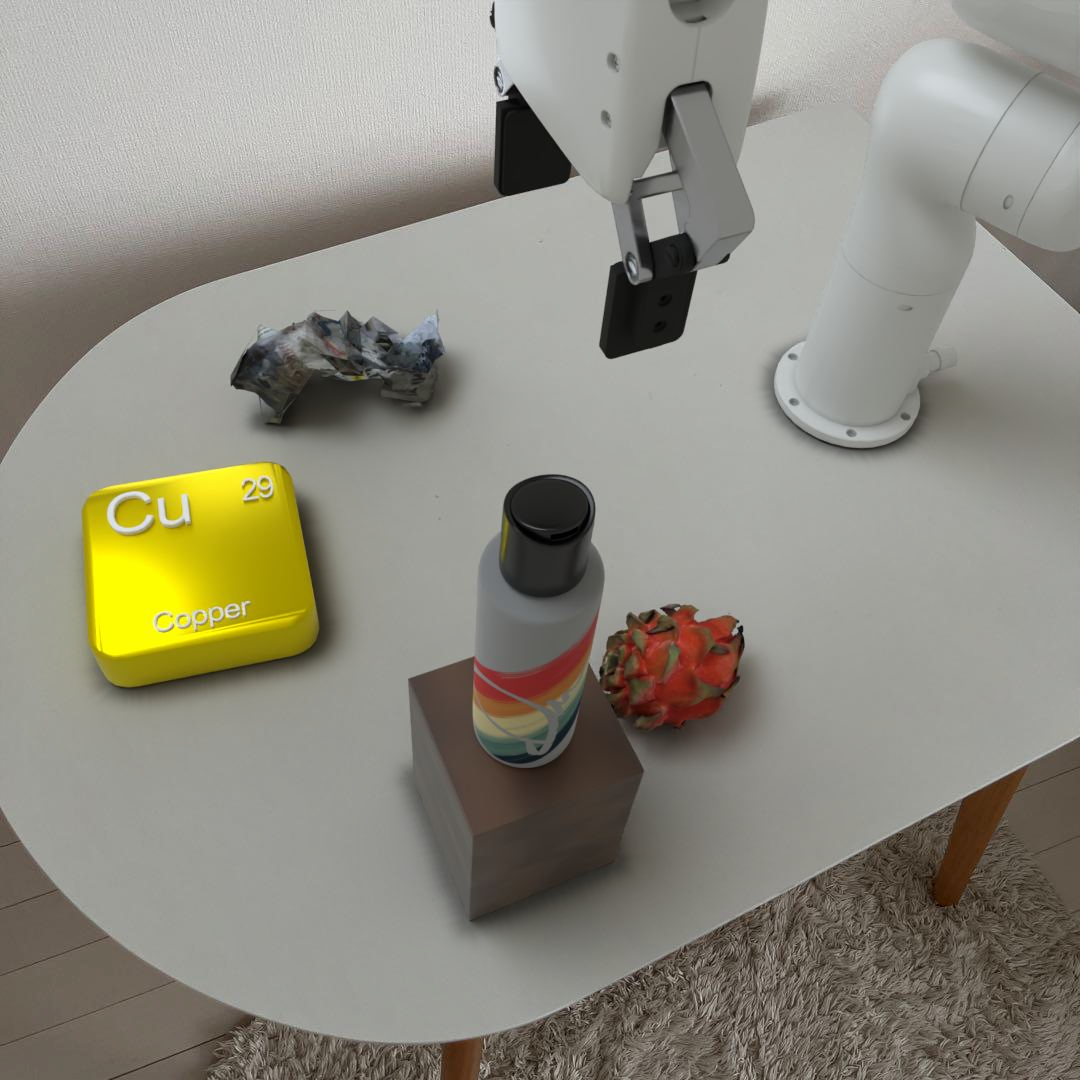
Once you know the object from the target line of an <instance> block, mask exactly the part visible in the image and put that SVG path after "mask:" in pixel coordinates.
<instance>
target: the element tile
mask: <svg viewBox="0 0 1080 1080" xmlns="http://www.w3.org/2000/svg"><path fill="white" fill-rule="evenodd" d="M81 530H82V532H81V533H82V551H83V570H84V571H83V574H84V591H85V593H84V594H85V612H86V632H87V633H86V635H87V642H88V645H89V648H90V650H91V652H92V654H93V656H94V658H95V660H96V662H97V664H98V666H99V668H100V670H101V671H102V673H103V675H104V677H105V678H106V680H107V681H108V682H110V683H111V684H113V685H114V686H117V687H122V688H139V687H143V686H148V685H153V684H158V683H159V684H160V683H165V682H168V681H173V680H179V679H183V678H189V677H193V676H198V675H204V674H209V673H215V672H219V671H224V670H229V669H235V668H239V667H244V666H250V665H255V664H259V663H265V662H270V661H274V660H279V659H284V658H285V659H286V658H290V657H294V656H297V655H300V654H302V653H304V652H305V651H307V650H310V648H311V647H312V646H313V645H314V643H315V642H316V641H317V639H318V635H319V632H320V622H319V617H318V615H319V614H318V609H317V605H316V599H315V593H314V588H313V582H312V577H311V572H310V567H309V561H308V556H307V551H306V546H305V545H306V544H305V540H304V536H303V529H302V524H301V519H300V514H299V509H298V503H297V498H296V492H295V488H294V483H293V477H292V476H291V474H290V472H289V471H288V470H287V469H286V467H285V466H284V465H281V464H279V463H277V462H273V461H256V462H251V463H244V464H238V465H237V464H236V465H231V466H225V467H218V468H212V469H206V470H200V471H193V472H187V473H181V474H176V475H170V476H169V475H168V476H163V477H157V478H149V479H144V480H138V481H131V482H124V483H119V484H113V485H109V486H106V487H102V488H100V489H97V490H95V491H94V492H93V493H91V494H90V495H89V496H88V497H87V498H86V499H85V501H84V502H83V505H82V508H81Z"/></svg>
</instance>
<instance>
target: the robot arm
mask: <svg viewBox="0 0 1080 1080" xmlns="http://www.w3.org/2000/svg"><path fill="white" fill-rule="evenodd" d="M949 1H950V5H951V8H952V10H953V11H954V13H955V14H956V15H957V17H958V18H959V19H960V20H962V21H963V22H964V23H965V24H966V25H968V26H969V27H970V28H972V29H974V30H976V31H977V32H979V33H981V34H982V35H985V36H986V37H987V38H990V39H992V40H994V41H996V42H998V43H1000V44H1003V45H1004V46H1008V47H1010V48H1011V49H1014V50H1015V51H1018V52H1020V53H1023V54H1025V55H1028V56H1029V57H1032V58H1034V59H1036V60H1039V61H1041V62H1043V63H1045V64H1048V65H1050V66H1053V67H1055V68H1057V69H1059V70H1061V71H1064V72H1066V73H1068V74H1070V75H1073V76H1075V77H1077V78H1080V0H949ZM768 6H769V0H493V2H492V4H491V10H490V15H489V21H490V22H489V23H490V25H491V27H492V28H493V29H494V33H495V41H496V42H495V43H496V48H497V52H498V54H499V57H498V58H497V59H496V60H495V62H494V63H493V66H492V81H493V86H494V89H495V91H496V93H497V95H498V96H499V97H501V98H504V97H507V98H506V99H502V100H498V101H496V102H495V124H494V125H495V126H494V127H495V128H494V134H495V135H494V157H493V158H494V159H493V160H494V161H493V185H494V187H495V189H496V190H497V191H498V193H499V195H501V196H503V197H512V196H516V195H520V194H523V193H524V194H525V193H528V192H533V191H538V190H543V189H546V188H550V187H551V188H552V187H555V186H559V185H563V184H566V183H567V182H568V181H569V180H570V178H571V173H572V166H573V167H574V169H575V170H576V171H577V173H578V174H579V176H580V177H581V178H582V179H583V180H584V182H585V183H586V184H587V185H588V186H589V187H590V188H591V190H593V192H595V193H596V194H598V195H599V196H600V197H602V198H603V199H605V200H607V201H609V202H610V203H611V207H612V208H611V209H612V213H613V218H614V223H615V228H616V234H617V235H616V236H617V240H618V244H619V249H620V256H621V260H620V261H617V262H615V263H613V264H610V265H609V272H608V279H607V285H606V294H605V301H604V308H603V314H602V322H601V327H600V336H599V342H598V347H599V348H600V350H601V351H602V353H603V355H604V356H605V358H606V359H607V360H614V359H618V358H621V357H626V356H628V355H631V354H635V353H639V352H643V351H646V350H650V349H654V348H658V347H662V346H664V345H668V344H671V343H674V342H676V341H678V340H679V339H680V338H682V336H683V335H684V332H685V328H686V324H687V319H688V315H689V311H690V306H691V301H692V298H693V293H694V288H695V284H696V280H697V276H698V271H700V270H703V269H707V268H711V267H715V266H718V265H722V264H726V263H727V262H728V261H729V259H730V257H731V254H732V253H733V252H734V251H735V250H736V249H737V248H738V247H739V246H740V245H741V244H742V243H743V242H744V241H745V240H746V239H747V238H748V237H749V236H750V235H751V233H753V231H754V229H755V224H756V217H755V212H754V208H753V205H752V203H751V200H750V198H749V195H748V192H747V189H746V187H745V185H744V182H743V179H742V176H741V174H740V171H739V169H738V167H737V166H738V163H739V160H740V157H741V153H742V151H743V145H744V140H745V136H746V132H747V127H748V123H749V118H750V112H751V107H752V103H753V98H754V97H753V96H754V92H755V86H756V80H757V75H758V69H759V63H760V59H761V52H762V45H763V40H764V33H765V26H766V21H767V20H766V19H767V14H768V13H767V12H768ZM886 73H887V74H886V75H885V77H884V79H883V81H882V83H881V85H880V87H879V90H878V91H877V95H876V98H875V101H874V105H873V108H872V112H871V118H870V122H869V129H868V135H867V145H866V150H865V158H864V163H863V167H862V168H863V169H862V173H861V179H860V182H859V185H858V188H857V192H856V196H855V199H854V202H853V205H852V208H851V211H850V214H849V217H848V219H847V223H846V225H845V229H844V231H843V234H842V238H841V240H840V243H839V246H838V249H837V252H836V254H835V257H834V260H833V262H832V266H831V269H830V272H829V274H828V277H827V280H826V283H825V286H824V289H823V291H822V294H821V297H820V300H819V301H818V302H819V303H818V304H817V308H816V311H815V314H814V317H813V319H812V322H811V325H810V328H809V331H808V334H807V336H806V339H805V340H803V341H801V342H800V341H799V342H798V343H796V344H795V345H793V346H792V347H790V348H789V349H788V350H787V351H786V352H785V353H784V354H783V355H782V357H781V358H780V360H779V362H778V363H777V367H776V369H775V372H774V377H773V388H774V389H773V391H774V396H775V398H776V399H777V402H778V405H779V406H780V407H781V409H782V412H784V414H785V415H786V416H787V417H788V418H789V419H790V420H791V421H792V423H793V424H795V425H796V426H797V427H799V428H800V429H802V430H803V431H804V432H806V433H808V434H809V435H811V436H813V437H814V438H817V439H819V440H821V441H824V442H826V443H830V444H832V445H836V446H841V447H844V448H852V449H853V448H854V449H865V448H866V449H868V448H869V449H870V448H877V447H881V446H885V445H888V444H890V443H893V442H896V441H897V440H898V439H900V438H902V437H903V436H904V435H906V434H907V432H908V431H909V430H910V429H911V427H912V426H913V424H914V423H915V421H916V419H917V417H918V414H919V411H920V408H921V393H920V390H919V387H918V385H919V382H920V380H924V379H926V378H928V376H929V375H930V373H932V372H939V371H943V370H946V369H950V368H953V367H954V366H957V363H958V360H959V359H958V357H959V356H958V353H957V350H956V349H955V347H954V346H952V345H949V344H948V345H944V346H941V347H937V348H934V349H930V347H931V345H932V343H933V340H934V338H935V336H936V334H937V333H938V330H939V328H940V326H941V324H942V322H943V320H944V318H945V315H946V314H947V312H948V309H949V307H950V306H951V303H952V300H953V299H954V297H955V295H956V293H957V292H958V291H957V290H958V288H959V287H960V284H961V283H962V280H963V279H964V276H965V274H966V272H967V270H968V268H969V266H970V263H971V260H972V258H973V255H974V251H975V247H976V238H977V219H980V220H982V221H984V222H986V223H988V224H990V225H991V226H994V227H996V228H998V229H1000V230H1002V231H1003V232H1006V233H1008V234H1010V235H1012V236H1014V237H1015V238H1018V239H1020V240H1022V241H1023V242H1026V243H1028V244H1030V245H1033V246H1035V247H1038V248H1040V249H1044V250H1046V251H1051V252H1057V253H1058V252H1059V253H1064V252H1071V251H1074V250H1078V249H1079V248H1080V88H1078V87H1077V86H1073V85H1071V84H1068V83H1066V82H1065V81H1062V80H1059V79H1057V78H1055V77H1053V76H1051V75H1049V74H1046V73H1045V71H1043V70H1040V69H1038V68H1035V67H1033V66H1031V65H1029V64H1027V63H1024V62H1021V61H1019V60H1017V59H1014V58H1013V57H1011V56H1008V55H1006V54H1004V53H1001V52H999V51H996V50H994V49H992V48H990V47H987V46H984V45H981V44H979V43H976V42H972V41H967V40H963V39H959V38H954V37H953V38H952V37H939V38H931V39H927V40H924V41H921V42H918V43H916V44H915V45H913V46H912V47H910V48H909V49H907V50H906V51H905V52H904V53H902V54H901V55H900V56H899V57H898V58H897V60H896V61H895V62H894V63H893V64H892V66H891V67H890V68H889V70H888V72H886ZM664 150H668V155H669V162H670V167H671V171H667V172H663V173H657V174H655V175H650V176H646V177H643V176H644V174H645V172H646V171H647V170H648V167H649V166H650V164H651V162H652V160H653V159H654V157H655V155H656V153H657V152H661V151H664ZM668 193H671V197H672V200H673V207H674V212H675V218H676V223H677V231H678V233H676V234H673V235H669V236H666V237H663V238H659V239H656V240H653V241H650V237H649V232H648V226H647V220H646V215H645V210H644V205H643V199H647V198H651V197H655V196H660V195H664V194H668ZM976 218H977V219H976Z"/></svg>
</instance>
